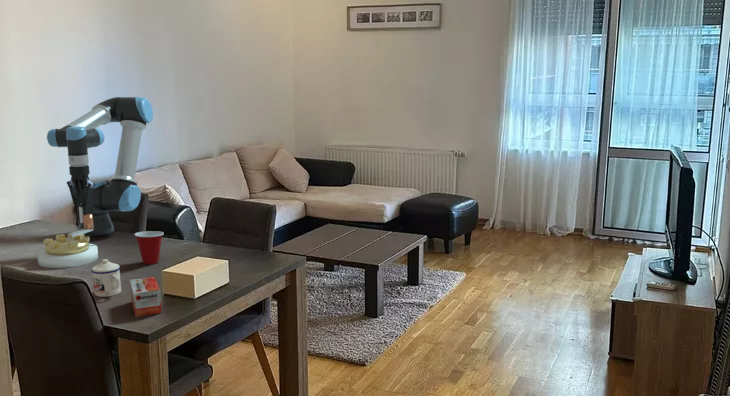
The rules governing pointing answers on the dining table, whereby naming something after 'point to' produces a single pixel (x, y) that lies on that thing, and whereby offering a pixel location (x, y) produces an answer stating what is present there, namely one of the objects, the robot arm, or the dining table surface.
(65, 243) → the ring nut
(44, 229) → the dining table surface
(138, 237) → the plastic cup
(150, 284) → the medicine box
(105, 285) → the teacup with lid
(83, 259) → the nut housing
